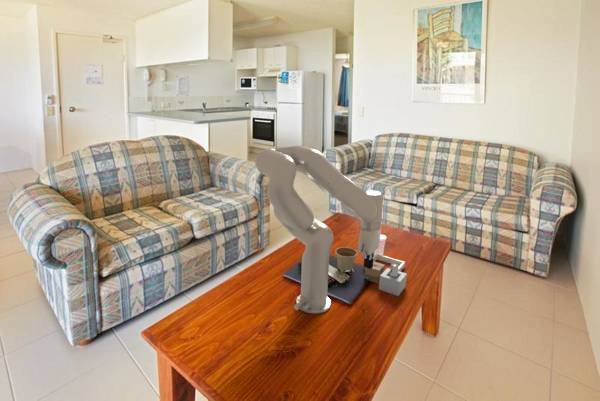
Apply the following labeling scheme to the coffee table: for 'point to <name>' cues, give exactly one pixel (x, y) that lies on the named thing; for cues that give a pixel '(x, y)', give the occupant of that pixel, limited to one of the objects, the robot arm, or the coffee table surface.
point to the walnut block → (375, 272)
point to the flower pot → (345, 258)
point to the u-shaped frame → (390, 261)
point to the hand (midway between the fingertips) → (368, 267)
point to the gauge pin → (394, 270)
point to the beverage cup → (381, 245)
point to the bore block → (392, 282)
